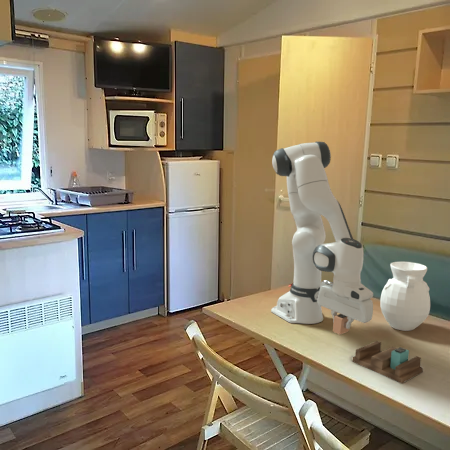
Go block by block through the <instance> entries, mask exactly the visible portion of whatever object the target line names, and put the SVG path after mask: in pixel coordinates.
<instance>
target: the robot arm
mask: <svg viewBox="0 0 450 450" xmlns="http://www.w3.org/2000/svg"><path fill="white" fill-rule="evenodd" d="M331 157H332V155H331V150H330V148H329V145H328V144H327V143H326V142H325V141H315V142H305V143H299V144H296V145H291V146H288V147H285V148H279V149H276V150H275V151H274V153H273V154H272V159H271V160H272V161H271V163H272V168H273V170H274V172H275V174H276V175H278V176H279V177H286V188H287V189H286V190H287V196H288V201H289V202H288V203H289V209H290V213H291V215H292V216H293V220H294V222H295V223H294V224H295V226H296V231H295V232H294V233H293V237H292V240H291V245H292V256H293V282H292V283H289V284H288V288H290V289H289V291H288V292H287V291H286V292H285V293H284V294H283V295H281V296H279V298H278V299H277V301H276V305H275V306H273V307H272V308H271V309H270V312H271V313H272V314H274V315H276V316H277V317H280V318H281V319H283V320H285V321H286V322H288V323H291V324H304V325H311V324H312V325H313V324H318V323H320V322H321V323H322V321H323V320H324V316H323V312H322V311H323V310H322V307H323V308H326V309H328V310H330V311H331V312H330V313H331V316H332V319H333V320H332V323H333V324H334V316H337V315H338V314H343V315H345V316H347V319H348V322H345V323H344V328H346V329H349V330H350V329H351V325H352V323H353V322H354V321H358V322H359V323H360V322H361V324H362V323H363V324H367V323H369V322H370V321H372V318H373V315H374V314H373V313H374V304H373V300H372V298H373V297H374V292H373V291H372V290H371V289H370V288H368V287H366V286H365V285H364V284H363V283H362V279H361V272H362V271H363V265H364V248H363V247H364V245H363V244H362V243H361V242H360V241H358V240H357V239H354V237H353V235H352V233H351V229H350V226H349V223H348V222H347V219H346V215H345V213H344V210H343V207H342V205H341V203H340V202H339V201H338V199H336V197H335V195H334V194H333V192H332V189H331V186H330V183H329V180H328V176H327V175H328V174H327V172H326V168H327V167H328V166H329V165H330V163H331ZM322 217H324V219H326V220H327V222H328V223H329V226H330V229H331V232H332V235H333V237H334V240H335V241H333V242H329V243H328V242H327V243H325V240H326V237H327V236H326V235H327V234H326V230H325V226H324V221H323V219H322ZM322 272H326V273H333V279H332V280H333V281H329V280H327V279H324V280H322Z"/></svg>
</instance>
